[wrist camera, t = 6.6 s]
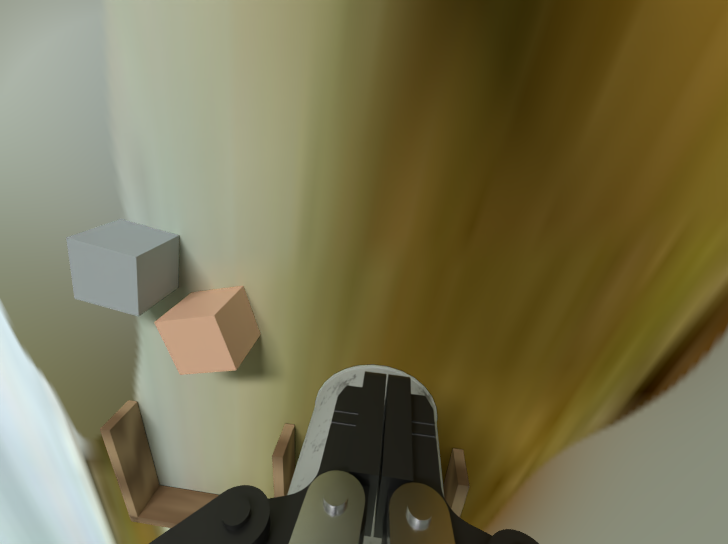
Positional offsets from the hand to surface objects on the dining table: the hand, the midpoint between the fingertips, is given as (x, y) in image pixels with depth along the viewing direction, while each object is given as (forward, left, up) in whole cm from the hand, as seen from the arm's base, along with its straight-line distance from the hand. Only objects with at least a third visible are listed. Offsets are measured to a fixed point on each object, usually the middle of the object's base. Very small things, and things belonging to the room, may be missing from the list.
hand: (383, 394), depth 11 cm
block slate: (+1, -17, -11) cm, 20 cm away
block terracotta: (+5, -12, -11) cm, 17 cm away
